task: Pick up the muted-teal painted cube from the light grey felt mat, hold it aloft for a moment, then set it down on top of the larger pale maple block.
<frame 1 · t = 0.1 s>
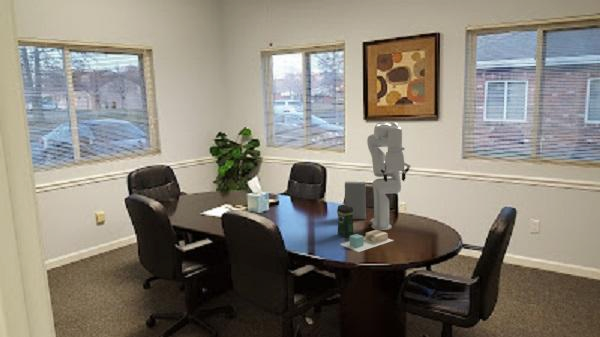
hand: (394, 180, 248), 37 cm above the table, tool pointing down, fingers open, 9 cm apart
maple block: (376, 239, 264), resting on felt mat
coffee jar: (345, 235, 275), on the table
cassette tape recorder: (355, 218, 309), on the table
felt mat: (366, 242, 260), on the table
teal cube: (356, 245, 256), resting on felt mat
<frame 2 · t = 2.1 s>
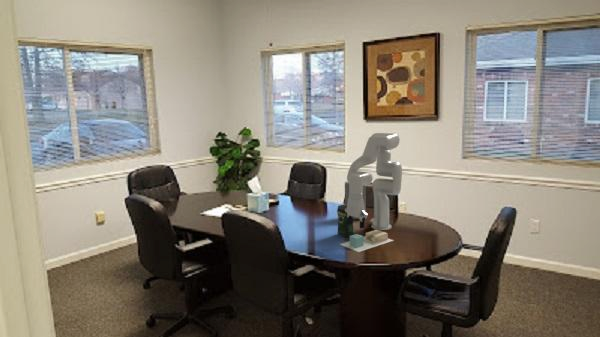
hand: (356, 226, 253), 12 cm above the table, tool pointing down, fingers open, 9 cm apart
nothing on the table moved.
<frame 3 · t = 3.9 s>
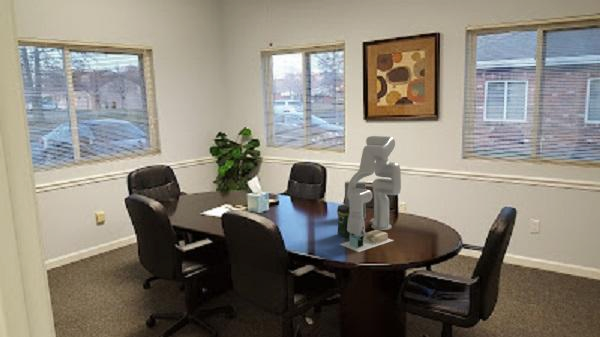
hand: (356, 244, 256), 1 cm above the table, tool pointing down, fingers closed on teal cube, 5 cm apart
teal cube: (356, 245, 256), resting on felt mat, touching gripper
everything else where it was.
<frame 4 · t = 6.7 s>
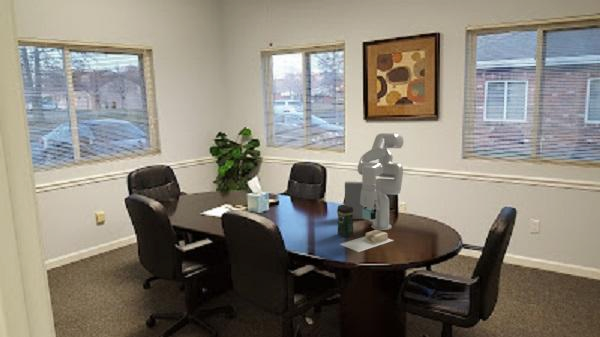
hand: (369, 217, 259), 15 cm above the table, tool pointing down, fingers closed on teal cube, 5 cm apart
teal cube: (369, 218, 259), point 14 cm above the table, touching gripper
everything else where it was.
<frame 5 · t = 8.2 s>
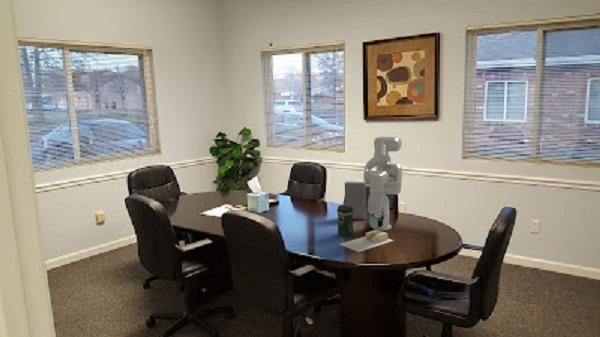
hand: (376, 224, 262), 9 cm above the table, tool pointing down, fingers closed on teal cube, 5 cm apart
teal cube: (376, 225, 262), point 9 cm above the table, touching gripper
everything else where it was.
when the fingers open (6 cm above the table, at t = 9.6 s): teal cube drops 1 cm, resting on maple block.
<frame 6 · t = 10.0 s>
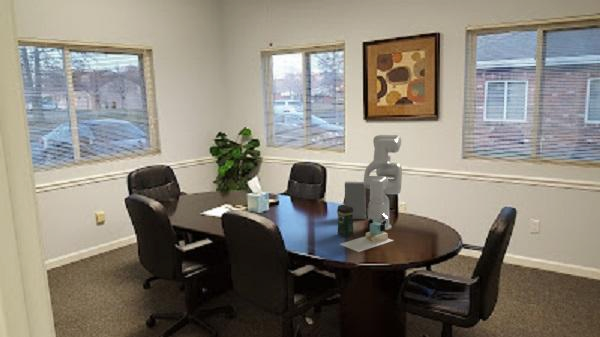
hand: (376, 229, 263), 7 cm above the table, tool pointing down, fingers open, 9 cm apart
maple block: (376, 239, 264), resting on felt mat, touching teal cube
teal cube: (376, 233, 264), point 4 cm above the table, touching maple block
everything else where it was.
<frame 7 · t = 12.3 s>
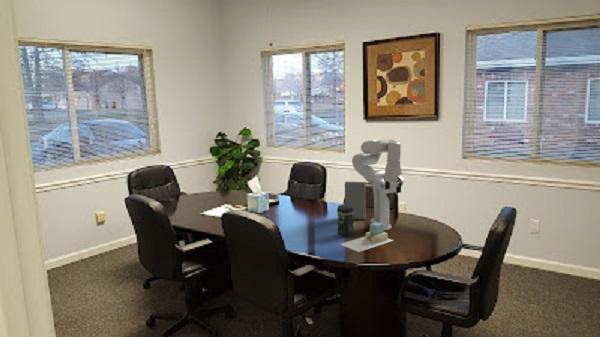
hand: (392, 190, 270), 27 cm above the table, tool pointing down, fingers open, 9 cm apart
nothing on the table moved.
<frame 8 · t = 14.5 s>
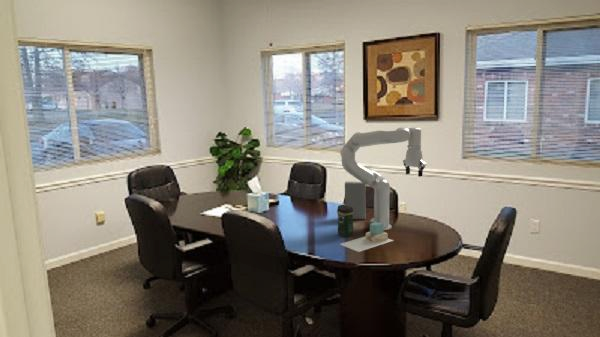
hand: (413, 175, 281), 33 cm above the table, tool pointing down, fingers open, 9 cm apart
nothing on the table moved.
at the end: teal cube inside the target area on the maple block (0.0 cm from its centre), point 4.0 cm above the maple block's base; teal cube tilted 0°; the gripper is holding nothing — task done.
